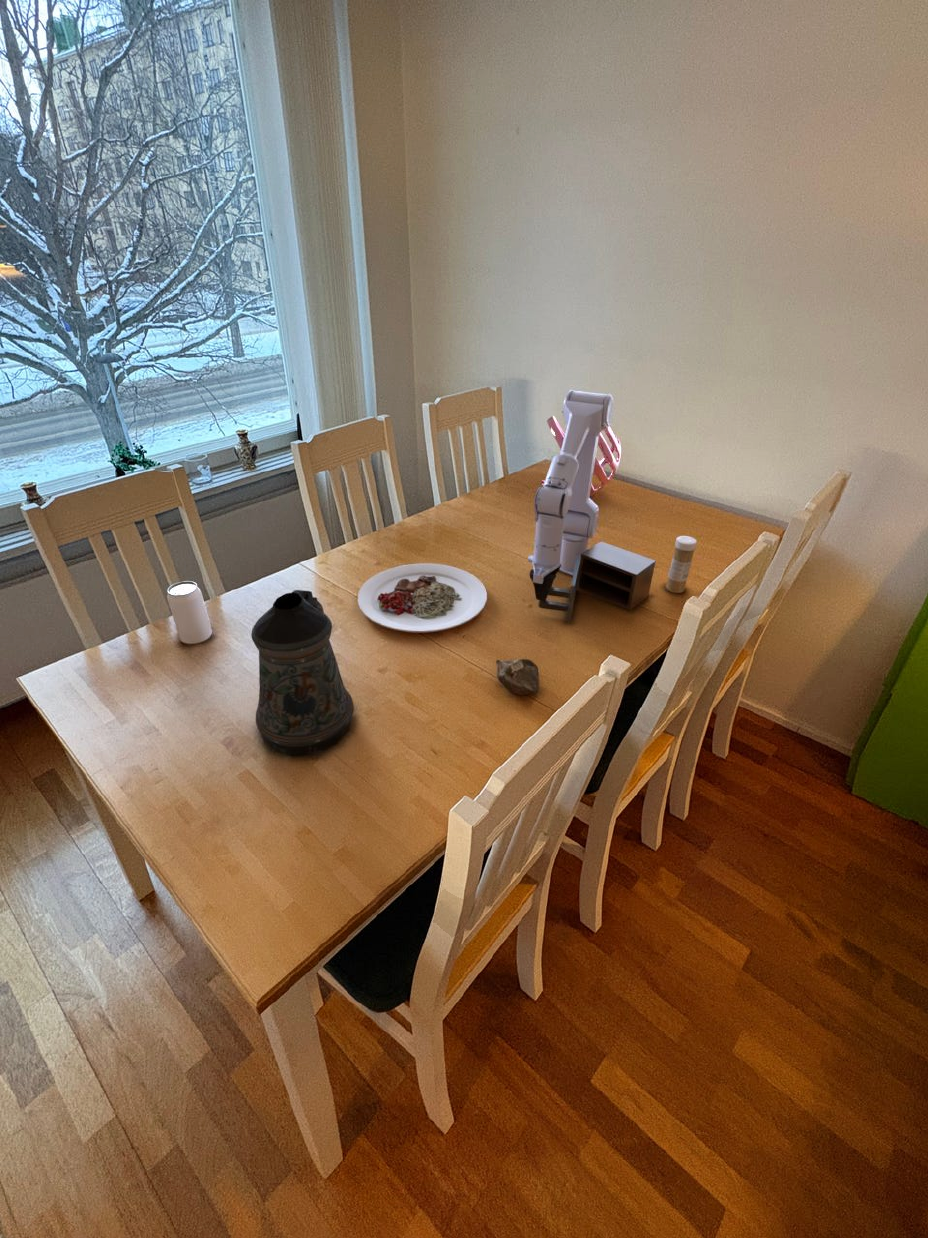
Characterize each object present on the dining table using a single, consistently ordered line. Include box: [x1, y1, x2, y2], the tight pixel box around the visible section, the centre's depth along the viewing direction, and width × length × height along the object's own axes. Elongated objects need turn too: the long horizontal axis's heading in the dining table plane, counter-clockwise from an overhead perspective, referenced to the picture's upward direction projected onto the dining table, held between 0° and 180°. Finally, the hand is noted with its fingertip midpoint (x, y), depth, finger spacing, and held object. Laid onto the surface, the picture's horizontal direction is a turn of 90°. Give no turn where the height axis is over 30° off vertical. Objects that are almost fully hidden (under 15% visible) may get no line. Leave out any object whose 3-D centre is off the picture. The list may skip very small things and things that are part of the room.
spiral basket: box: [540, 410, 622, 497], centre depth 189 cm, size 28×28×27 cm
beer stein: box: [251, 589, 355, 757], centre depth 99 cm, size 16×19×25 cm
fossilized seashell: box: [495, 657, 540, 695], centre depth 113 cm, size 8×7×10 cm
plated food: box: [357, 562, 488, 633], centre depth 138 cm, size 30×30×3 cm
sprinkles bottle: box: [665, 535, 698, 594], centre depth 141 cm, size 5×5×14 cm
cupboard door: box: [538, 555, 581, 623], centre depth 136 cm, size 8×15×9 cm, turn 166°
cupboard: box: [576, 541, 657, 611], centre depth 141 cm, size 9×15×10 cm, turn 48°
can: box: [166, 580, 213, 645], centre depth 123 cm, size 6×6×12 cm
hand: (542, 596), depth 134 cm, fingers closed
